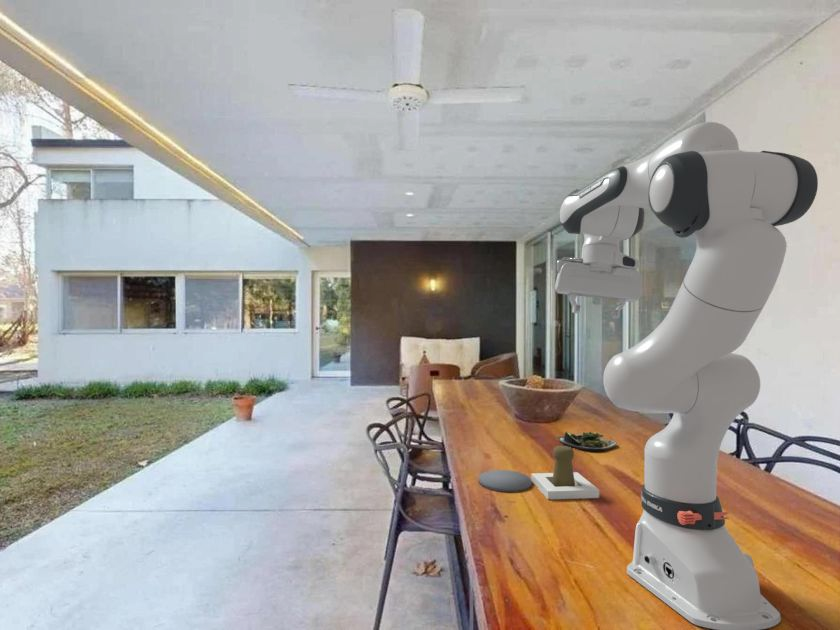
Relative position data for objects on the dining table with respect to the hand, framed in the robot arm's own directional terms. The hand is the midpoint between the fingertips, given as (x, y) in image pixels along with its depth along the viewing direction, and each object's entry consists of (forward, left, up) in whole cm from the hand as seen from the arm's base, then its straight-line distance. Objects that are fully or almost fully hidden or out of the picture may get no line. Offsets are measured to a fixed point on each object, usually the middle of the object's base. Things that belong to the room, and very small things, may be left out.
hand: (595, 315), depth 113 cm
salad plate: (+48, -19, -46) cm, 69 cm away
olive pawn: (+8, +5, -45) cm, 46 cm away
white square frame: (+8, +5, -45) cm, 46 cm away
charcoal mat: (+14, +19, -45) cm, 51 cm away
